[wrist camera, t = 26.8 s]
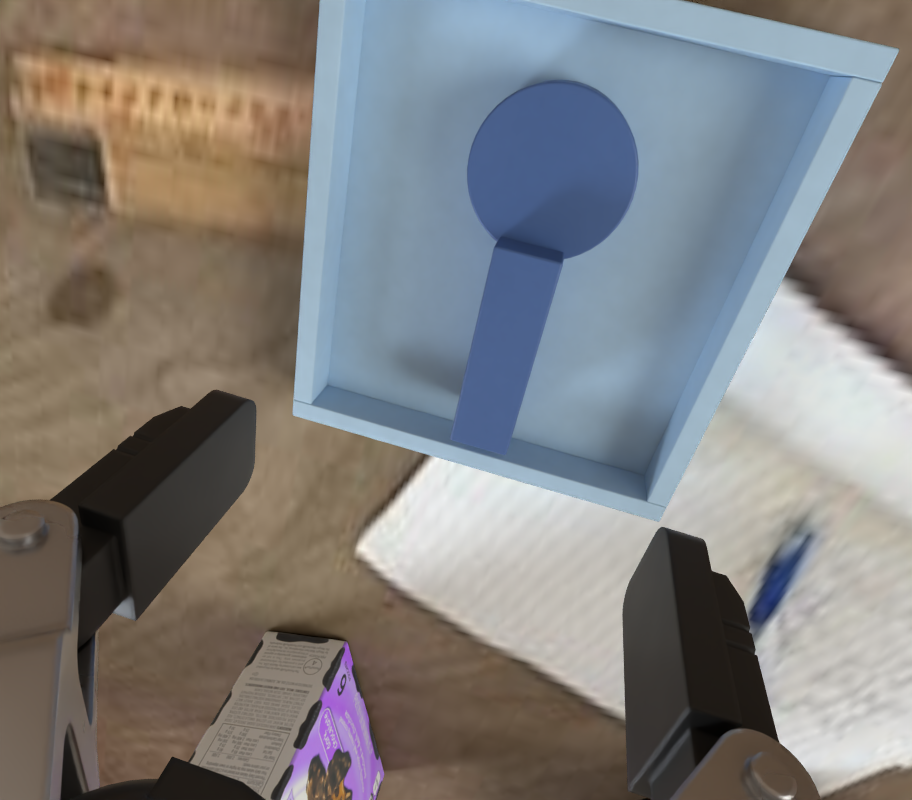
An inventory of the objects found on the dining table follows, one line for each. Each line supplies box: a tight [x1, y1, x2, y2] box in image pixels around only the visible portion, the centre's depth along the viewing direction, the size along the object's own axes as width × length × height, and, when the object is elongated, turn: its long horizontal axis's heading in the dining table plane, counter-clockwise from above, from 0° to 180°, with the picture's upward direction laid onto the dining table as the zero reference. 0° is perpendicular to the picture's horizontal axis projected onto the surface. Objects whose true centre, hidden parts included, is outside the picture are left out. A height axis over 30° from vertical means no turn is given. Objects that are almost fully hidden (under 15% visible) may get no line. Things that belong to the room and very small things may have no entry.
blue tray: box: [293, 0, 899, 522], centre depth 21 cm, size 17×16×2 cm
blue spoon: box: [450, 80, 639, 455], centre depth 20 cm, size 12×5×3 cm, turn 169°
